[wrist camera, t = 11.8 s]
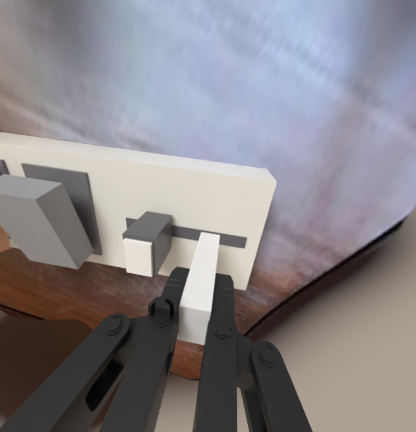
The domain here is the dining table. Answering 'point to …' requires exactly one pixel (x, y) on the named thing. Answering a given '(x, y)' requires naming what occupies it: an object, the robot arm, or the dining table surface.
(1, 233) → the block
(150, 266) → the slider knob
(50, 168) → the panel
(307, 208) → the dining table surface
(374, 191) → the dining table surface
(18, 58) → the dining table surface
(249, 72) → the dining table surface
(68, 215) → the grey rocker
